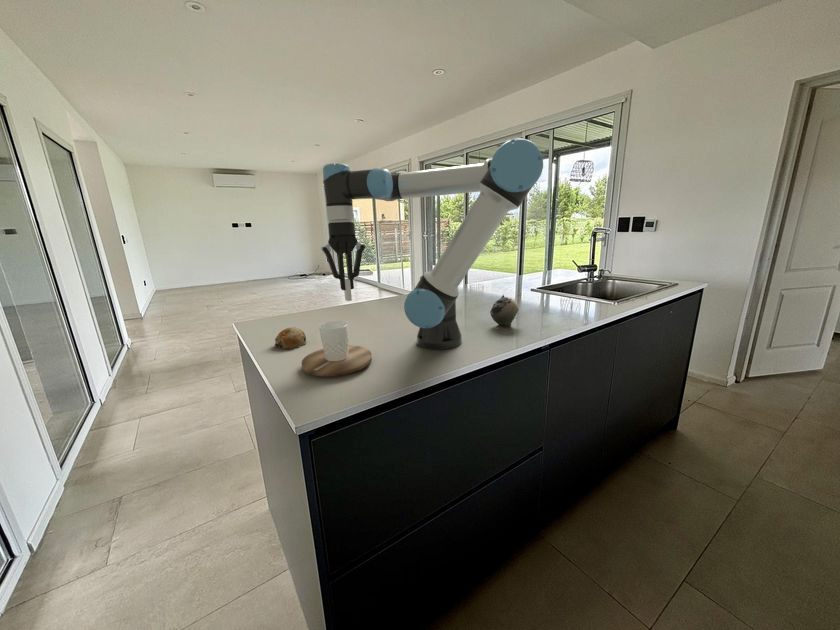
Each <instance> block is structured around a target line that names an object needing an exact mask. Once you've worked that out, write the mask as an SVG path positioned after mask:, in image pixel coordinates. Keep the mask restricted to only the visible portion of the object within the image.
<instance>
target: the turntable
mask: <svg viewBox="0 0 840 630" xmlns="http://www.w3.org/2000/svg"><path fill="white" fill-rule="evenodd" d="M348 345H349V347H348V352H349V356H348V357H347V358H346V359H344V360H341V361H328V360H326V359H325V353H324V350H323V348H320V349H318V350H315V351H313V352H311V353H309V354H307V355H306V356H304V358H302V360H301V367H302V371H304V372H305V373H306V374H308V375H311V376H314V377H315V376H316V377H337V376H344V375H349V374H352V373H355V372H358V371H359V370H362V369H364V368H365V367H367V366H368V365H370V363H371V362H372V360H373V357H372V351H371V350H369V349H368V348H366V347H364V346H360V345H351V344H348Z"/></svg>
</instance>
